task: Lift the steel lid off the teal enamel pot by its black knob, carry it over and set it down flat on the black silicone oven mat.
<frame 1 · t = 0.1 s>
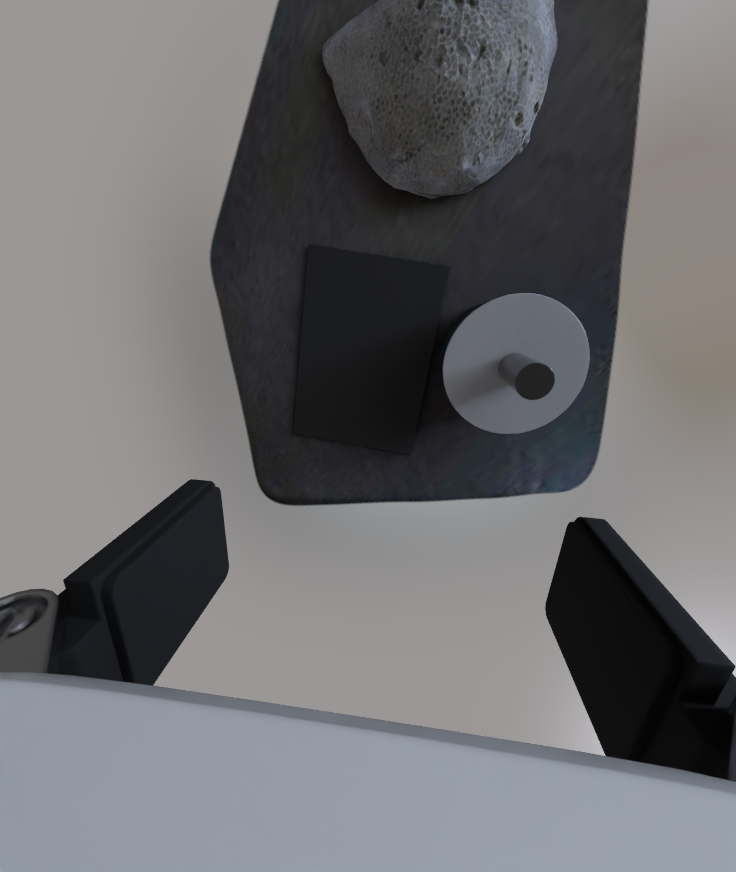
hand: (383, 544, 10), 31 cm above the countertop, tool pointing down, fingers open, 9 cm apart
oven mat: (364, 357, 39), on the countertop
lid: (512, 367, 31), point 7 cm above the countertop, touching pot
stone: (444, 95, 31), on the countertop
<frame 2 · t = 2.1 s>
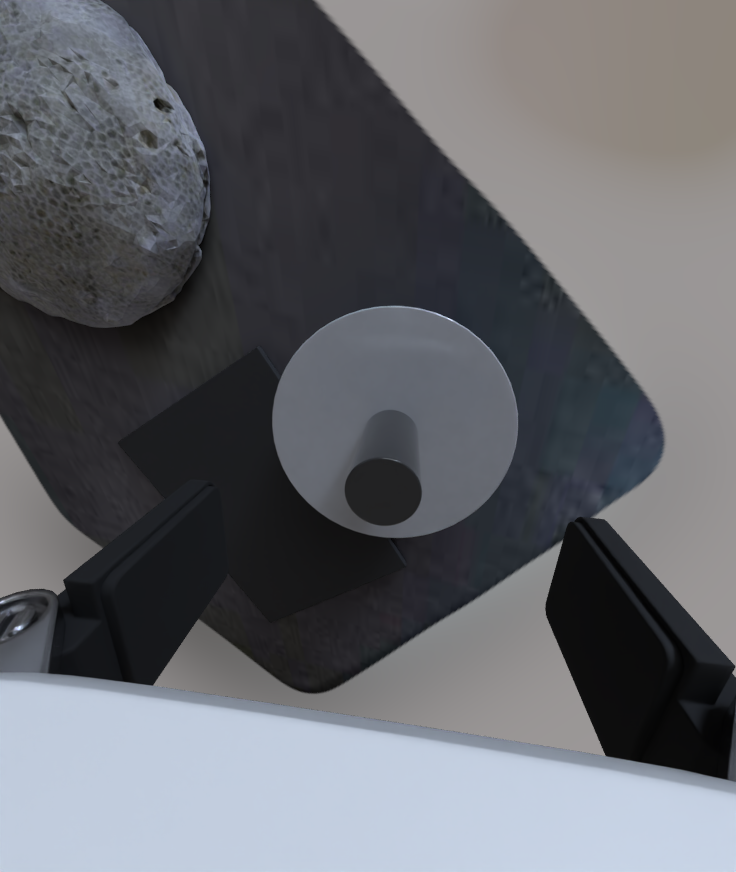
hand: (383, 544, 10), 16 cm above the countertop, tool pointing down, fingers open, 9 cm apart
oven mat: (267, 502, 29), on the countertop
lid: (391, 431, 18), point 7 cm above the countertop, touching pot
stone: (94, 191, 22), on the countertop
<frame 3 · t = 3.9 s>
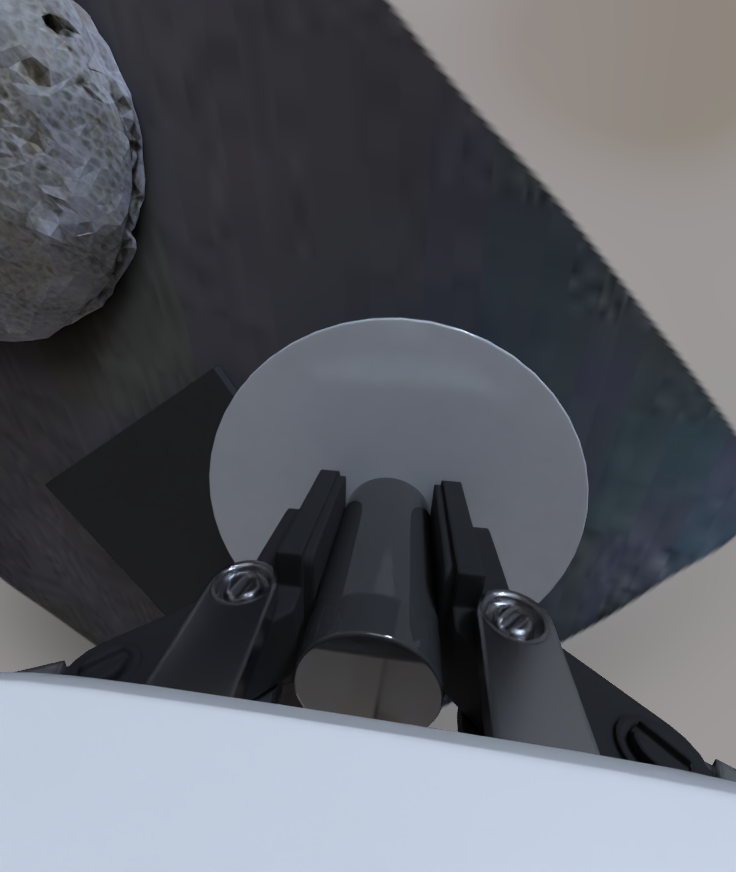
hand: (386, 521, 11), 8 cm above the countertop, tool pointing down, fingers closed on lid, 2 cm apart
oven mat: (235, 558, 23), on the countertop
lid: (388, 504, 12), point 8 cm above the countertop, touching gripper, pot
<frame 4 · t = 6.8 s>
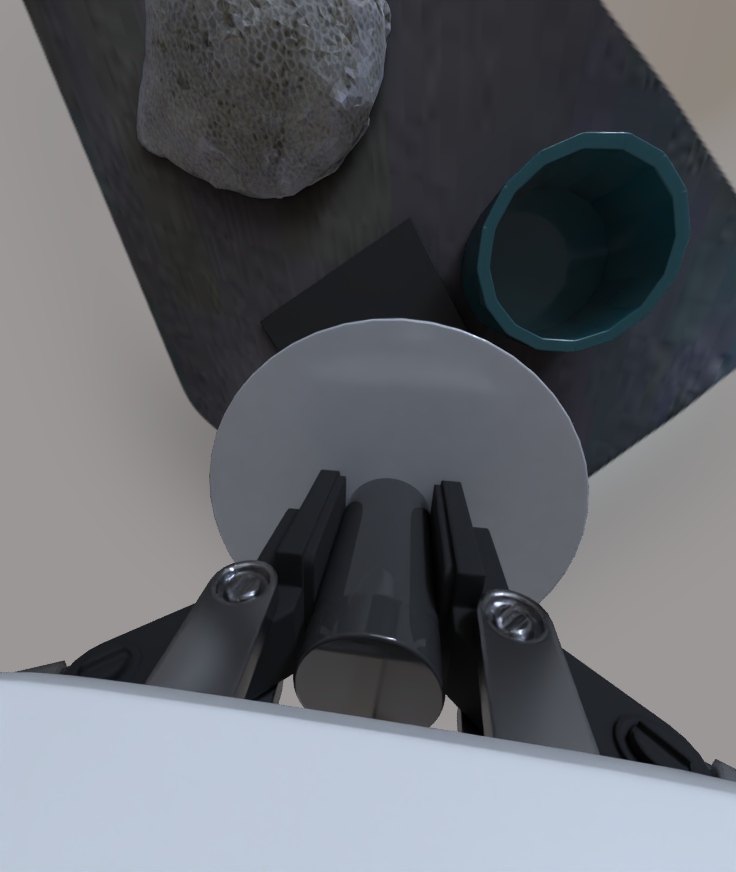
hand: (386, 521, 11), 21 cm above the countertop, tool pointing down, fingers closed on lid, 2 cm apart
oven mat: (394, 382, 31), on the countertop
lid: (389, 504, 12), point 20 cm above the countertop, touching gripper
stone: (271, 64, 24), on the countertop
pot: (535, 264, 27), on the countertop
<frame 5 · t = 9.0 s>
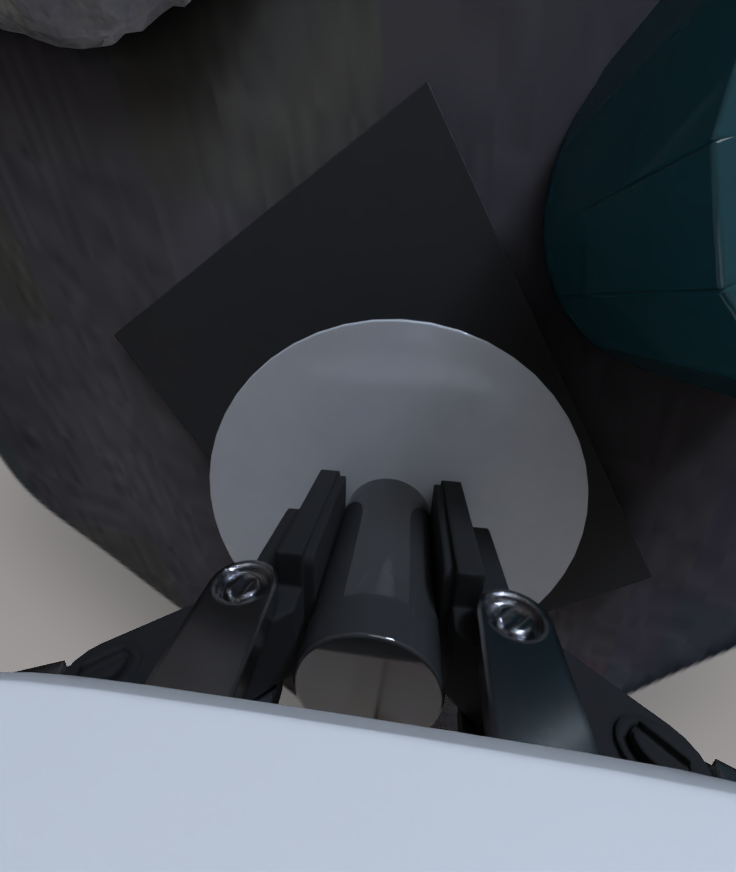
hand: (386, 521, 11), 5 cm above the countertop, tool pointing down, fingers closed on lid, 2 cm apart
oven mat: (393, 454, 15), on the countertop
lid: (388, 505, 12), point 4 cm above the countertop, touching gripper
pot: (722, 199, 11), on the countertop
when the fingers open (2 cm above the countertop, at t = 10.0 s): lid stays where it is, resting on oven mat.
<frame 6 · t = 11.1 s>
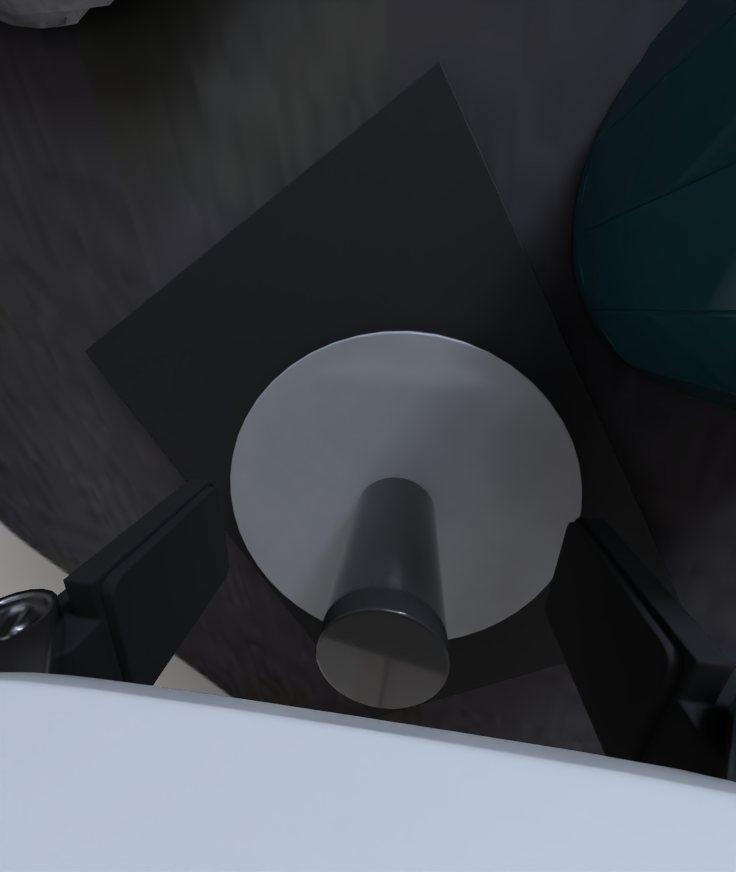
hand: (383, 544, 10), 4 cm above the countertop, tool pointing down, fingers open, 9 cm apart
oven mat: (397, 485, 14), on the countertop
lid: (396, 502, 13), point 1 cm above the countertop, touching oven mat
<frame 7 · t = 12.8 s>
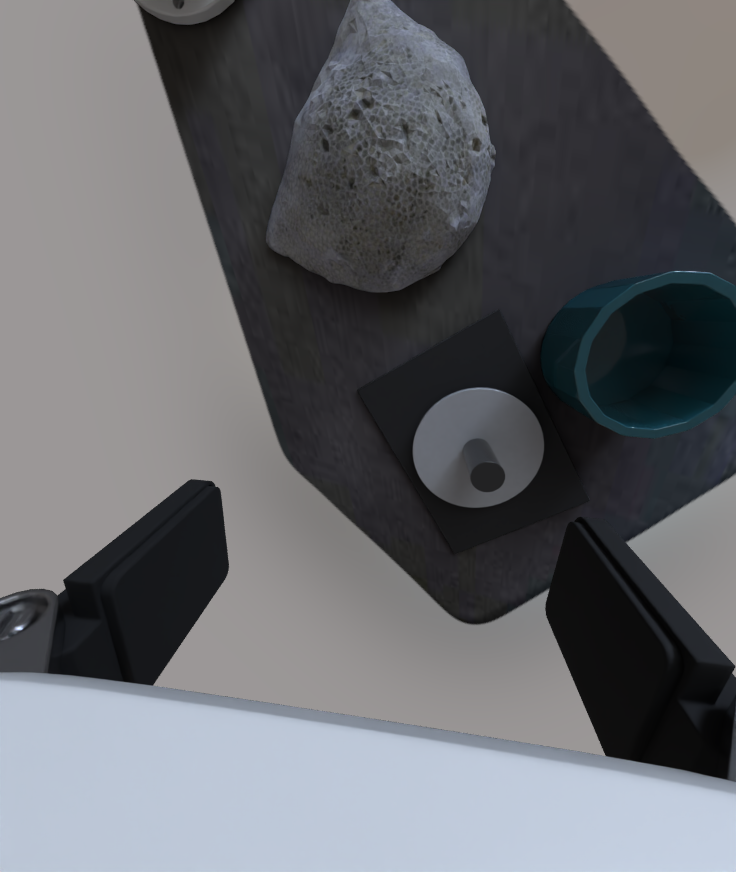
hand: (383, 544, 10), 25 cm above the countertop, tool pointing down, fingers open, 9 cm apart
oven mat: (473, 444, 35), on the countertop
lid: (475, 449, 34), point 1 cm above the countertop, touching oven mat
stone: (386, 185, 29), on the countertop
pot: (606, 349, 31), on the countertop
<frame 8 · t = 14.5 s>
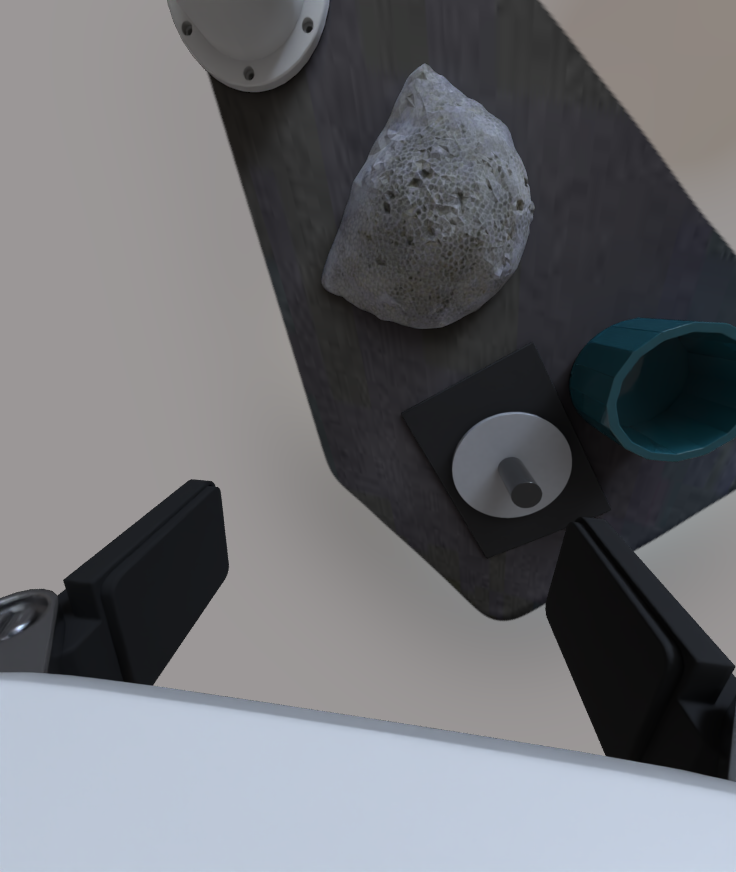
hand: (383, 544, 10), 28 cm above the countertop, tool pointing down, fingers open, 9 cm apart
oven mat: (506, 460, 38), on the countertop
lid: (509, 466, 37), point 1 cm above the countertop, touching oven mat
stone: (432, 233, 32), on the countertop
pot: (629, 377, 34), on the countertop
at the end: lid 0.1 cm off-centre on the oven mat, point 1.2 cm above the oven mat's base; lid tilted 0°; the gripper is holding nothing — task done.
